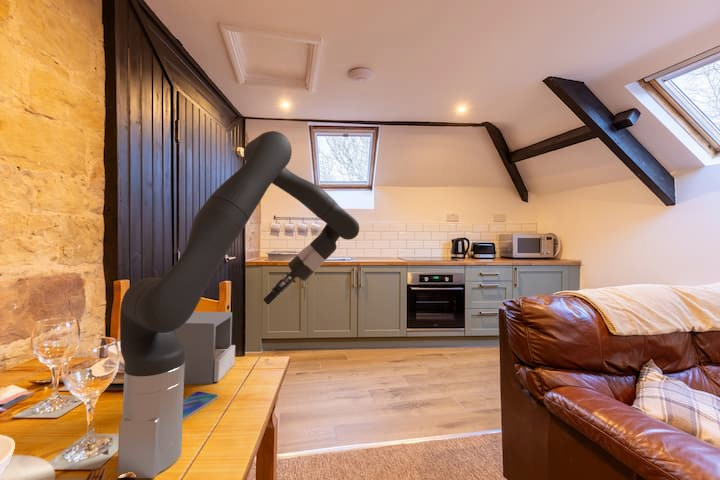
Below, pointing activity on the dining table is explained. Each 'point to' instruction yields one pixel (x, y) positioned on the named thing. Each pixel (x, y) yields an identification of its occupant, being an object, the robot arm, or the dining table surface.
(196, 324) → the cabinet
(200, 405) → the smartphone
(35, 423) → the dining table surface
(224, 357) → the drawer
